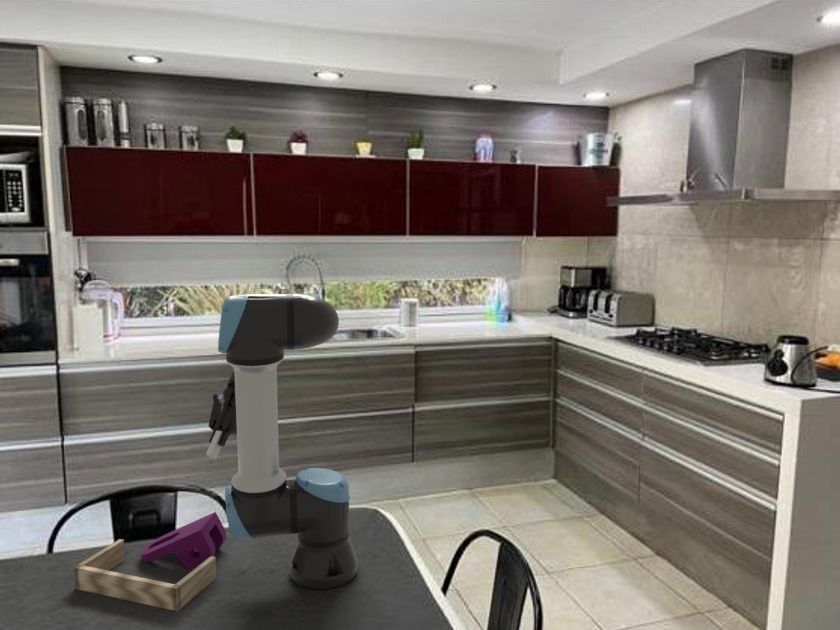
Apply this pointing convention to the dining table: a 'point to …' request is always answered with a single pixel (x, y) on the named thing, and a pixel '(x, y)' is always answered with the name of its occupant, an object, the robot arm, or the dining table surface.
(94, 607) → the dining table surface
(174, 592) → the birch bay
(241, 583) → the dining table surface
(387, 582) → the dining table surface
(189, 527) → the mounting bracket
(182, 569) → the dining table surface
